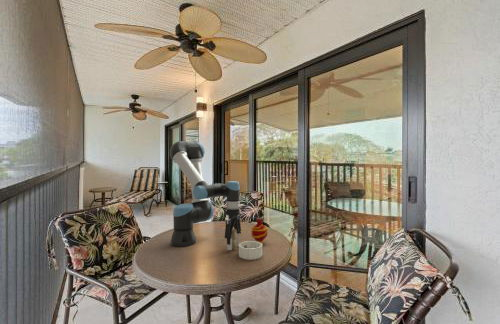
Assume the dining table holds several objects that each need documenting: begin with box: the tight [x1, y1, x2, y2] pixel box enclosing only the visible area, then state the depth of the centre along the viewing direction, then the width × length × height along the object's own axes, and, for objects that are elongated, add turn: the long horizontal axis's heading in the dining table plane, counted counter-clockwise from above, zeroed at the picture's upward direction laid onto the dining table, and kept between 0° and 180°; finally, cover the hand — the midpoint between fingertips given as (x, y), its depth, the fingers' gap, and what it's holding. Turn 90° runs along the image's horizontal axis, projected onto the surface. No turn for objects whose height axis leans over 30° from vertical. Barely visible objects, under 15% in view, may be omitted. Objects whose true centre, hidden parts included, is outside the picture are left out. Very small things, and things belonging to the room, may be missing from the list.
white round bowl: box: [238, 240, 263, 261], centre depth 137 cm, size 13×13×6 cm
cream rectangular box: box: [231, 228, 238, 251], centre depth 147 cm, size 4×2×11 cm, turn 66°
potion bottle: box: [251, 217, 269, 245], centre depth 157 cm, size 10×10×15 cm
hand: (233, 247), depth 147 cm, fingers open, 9 cm apart
